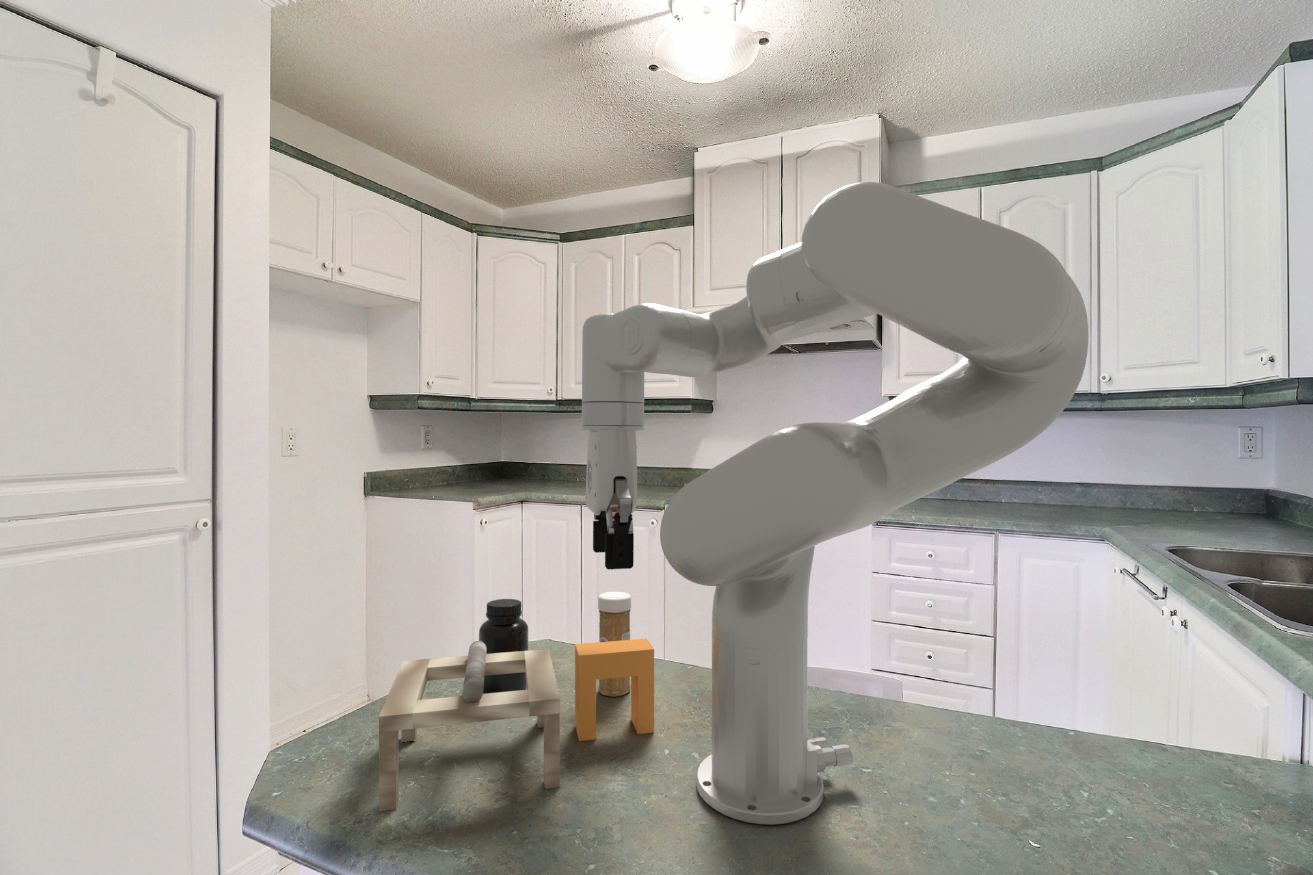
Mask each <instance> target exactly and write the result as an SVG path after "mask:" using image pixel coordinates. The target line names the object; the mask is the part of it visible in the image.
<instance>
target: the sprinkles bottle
mask: <svg viewBox="0 0 1313 875" xmlns="http://www.w3.org/2000/svg"><path fill="white" fill-rule="evenodd" d="M597 598H598V600H597V608H598V613H599V622H598V623H599V628H598V629H599V632H598V634H599V635H598V636H599V640H598V642H610V641H622V640H631V622H630V621H631V620H630V618H631V617H630V616H631V615H630V614H631V613H630V612H631V608H632V596H631V594H629V593H628V592H624V591H606V592H603V593H600V594H599V595H598V597H597ZM597 690H598V692H599V693H600V694H602V695H603V696H606V697H613V698H615V697H622V696H623V695H624V696H625V694H626V695H627V693H628V692H631V676H629V677H619V678H608V679H598V687H597Z"/></svg>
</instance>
